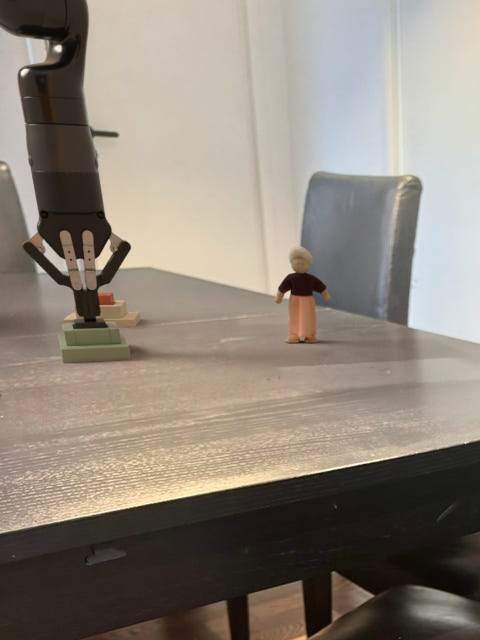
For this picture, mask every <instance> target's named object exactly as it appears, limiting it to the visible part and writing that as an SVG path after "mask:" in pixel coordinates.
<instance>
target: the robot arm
mask: <svg viewBox="0 0 480 640" xmlns="http://www.w3.org/2000/svg"><path fill="white" fill-rule="evenodd" d="M0 29H2V30H3V31H5V32H6V33H8V34H10V35H12V36H15V37H17V38H18V37H19V38H25V39H32V40H33V39H34V40H41V41H47V42H48V45H47V46H48V47H47V52H46V57H45V60H44V61H43V62H37V63H31V64H26V65H23V66H22V67H20V68H19V69H18V71H17V74H16V75H17V77H16V78H17V79H16V80H17V86H18V93H19V94H18V95H19V97H20V98H19V99H20V104H21V110H22V115H23V121H24V123H25V124H24V127H25V142H26V144H25V145H26V151H27V156H28V159H27V161H28V165H29V168H30V173H31V179H32V184H33V189H34V196H35V202H36V206H37V207H36V208H37V212H38V220H37V223H36V231H37V232H35V234H34V235H32V236H31V237H30V238H29V239H28V240H25V241H24V242H23V243H22V248H23V251H24V252H25V253H27V255H29V257H30V258H31V259H33V261H35V263H37V264H38V266H39V267H40V268H41V269H42V270H43V271H44V272H45V273H46V274H47V275H48V276H49V277H50V278H51V279H52V280H53V281H54V282H55V284H57V285H59V286H64V287H68V288H69V289H71V290H72V293H73V299H74V304H75V305H74V306H76V311H77V313H78V315H79V317H83V318H84V321H96V316H100V313H101V310H100V304H99V297H98V293H99V289H100V288H101V287H103V286H105V285H109V284H110V283H112V280H113V279H114V277H116V274H117V272H118V271H119V270H120V268H121V266H122V264H123V263H124V262H125V259H126V258H127V257H128V254H129V253H130V251H131V250H132V245H131V243H130V242H128V241H127V240H126V239H123V238H122V237H120V236H118V235H117V234H115V233H114V232H113V229H112V226H111V224H110V222H109V220H107V217H106V212H105V211H106V210H105V205H104V200H103V199H104V198H103V191H102V185H101V178H100V171H99V168H100V167H99V160H98V158H97V152H96V146H95V143H94V139H93V136H92V132H91V126H90V119H89V115H88V107H87V101H86V95H85V94H86V93H85V77H86V76H85V75H86V63H87V62H86V61H87V49H88V39H89V30H90V10H89V5H88V1H87V0H0ZM43 240H44V241H45V243H46V244H47V245H48V246H49V247H50V248H51V249H52V251H54V253H55V254H56V255H57V256H58V257H59V258H61V259H63V260H64V261H65V265H66V269H67V273H68V274H64V273H63V272H61V270H59V268H58V267H57V266H56V265H55V264H54V263H53V262H51V260H50V259H49V258H48V257H47V256H46V255H45V253H46V249H47V248H46V246H45V245H44V244H43ZM108 241H109V242H110V244H109V251H110V252H111V253H112V254H111V255H110V257H109V259H108V260H107V262H106V264H105V265H104V266H103V269H102V270H101V272H100V273H98V274H97V271H96V269H97V268H96V259H98V258H99V257H100V256H101V254H102V252H103V251H104V249H105V247H106V245H107V244H108ZM77 260H82V262H83V263H82V264H83V271H84V282H85V288H84V284H83V282H82V278H81V274H80V269H79V265H78V261H77Z"/></svg>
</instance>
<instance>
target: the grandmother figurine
mask: <svg viewBox="0 0 480 640" xmlns="http://www.w3.org/2000/svg"><path fill="white" fill-rule="evenodd" d="M288 260H289V264H290V266H291V269H292V270H293V272H292V273H288V274H287V275H285V277H284V278H283V279H282V281H281V282H280V284H279V286H278V287H277V291H276V295H275V297H274V302H275V304H277V305H279V304H281V303H282V302H283V298H284V297H285V294H286V293H288V292H289V293H290V295H289V297H288V335H289V336H287V337H286V340H285V342H286V343H289V344H296V343H300V342H301V339H300V338H303V342H304V343H307V344H309V343H311V344H312V343H313V344H316V343H319V340H318V339H317V337H316V335H317V312H316V311H317V310H316V300H315V296H314V292H315V293H317V294H320V296H321V297H322V300H323V301H324V303H330V302H331V295H330V294H329V292H328V289H327V285H326V284H325V283H324V282H323V281H322V279H320V278H319V277H317V276H315V275H314V274H312V273H307V272H309V270H310V267H311V266H312V264H313V261H314V258H313V256H312V255H311V253H310V251H309V250H307V248H306V247H303V246H301V245H296V246H292V247H291V248H290V250H289V252H288Z"/></svg>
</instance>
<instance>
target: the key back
mask: <svg viewBox="0 0 480 640" xmlns="http://www.w3.org/2000/svg"><path fill="white" fill-rule="evenodd" d="M98 297H99V304H100V305H114V304H115V302H114V301H115V295H114V292H98Z"/></svg>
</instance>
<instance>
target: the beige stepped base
mask: <svg viewBox="0 0 480 640" xmlns="http://www.w3.org/2000/svg"><path fill="white" fill-rule="evenodd" d="M114 302H115V304H114V305H100V310H101V313H100V316H96V318H103V319H104V321H105V322H111V321H115V323H116V325H117V326H118V328H119V329H120V328H122V329H123V328H136V327H137V325H138V324H139V322H140V321H141V320H142V319H141V313H140V311H128V308H127V301H126V300H114ZM74 319H84V318H83V317H79V315H78V313H77V311H76V305H74V311H72V312H71V313H69V315H67V316H66V317H65V318H63V320H62V323H74Z"/></svg>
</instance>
